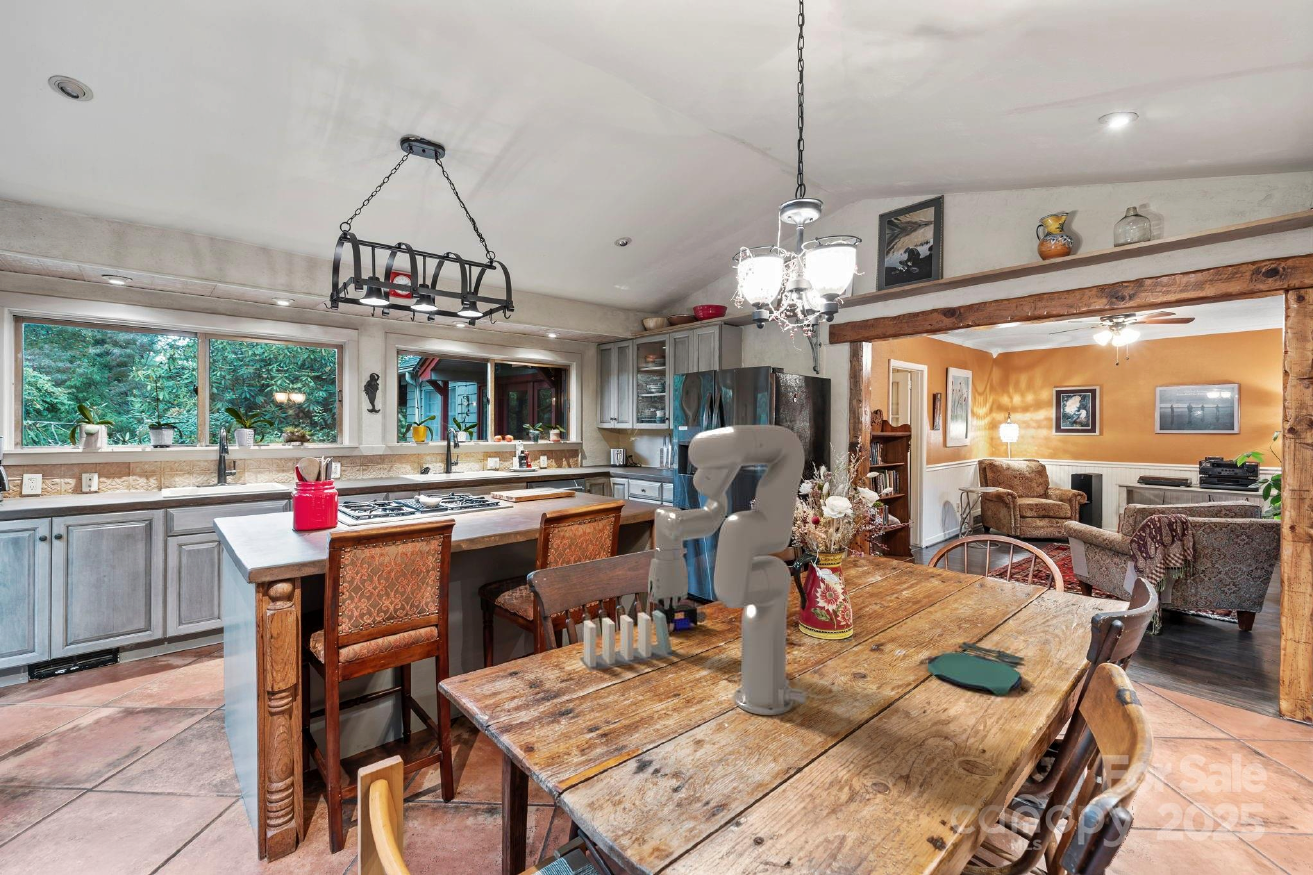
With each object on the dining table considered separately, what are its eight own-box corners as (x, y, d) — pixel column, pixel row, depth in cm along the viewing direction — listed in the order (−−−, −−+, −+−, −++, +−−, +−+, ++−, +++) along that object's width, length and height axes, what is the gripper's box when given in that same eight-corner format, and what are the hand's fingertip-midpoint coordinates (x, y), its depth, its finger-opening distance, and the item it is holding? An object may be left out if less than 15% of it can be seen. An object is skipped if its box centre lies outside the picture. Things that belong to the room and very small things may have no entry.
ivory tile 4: (589, 659, 148) (589, 620, 148) (596, 666, 144) (596, 626, 144) (583, 660, 148) (583, 621, 148) (590, 667, 143) (589, 627, 143)
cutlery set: (915, 678, 139) (915, 668, 139) (956, 644, 160) (956, 636, 160) (1009, 706, 125) (1009, 695, 125) (1041, 665, 147) (1041, 656, 147)
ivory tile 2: (626, 652, 153) (626, 614, 152) (633, 659, 148) (633, 620, 148) (620, 653, 152) (620, 615, 152) (627, 660, 147) (627, 621, 147)
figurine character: (691, 627, 178) (650, 631, 169) (694, 601, 178) (653, 604, 170) (705, 633, 172) (664, 638, 164) (708, 607, 173) (666, 610, 164)
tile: (663, 645, 157) (657, 610, 156) (671, 651, 153) (665, 615, 152) (658, 647, 156) (651, 611, 155) (666, 653, 152) (659, 617, 151)
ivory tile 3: (608, 655, 150) (608, 617, 150) (614, 662, 146) (614, 623, 146) (602, 656, 150) (602, 618, 150) (608, 664, 145) (608, 624, 145)
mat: (663, 644, 159) (663, 643, 159) (677, 656, 151) (677, 654, 151) (578, 659, 149) (578, 657, 149) (589, 672, 141) (589, 671, 141)
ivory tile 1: (643, 649, 155) (643, 612, 155) (651, 656, 150) (651, 617, 150) (637, 650, 154) (637, 613, 154) (645, 657, 150) (645, 618, 149)
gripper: (687, 548, 161) (687, 614, 161) (637, 553, 155) (637, 621, 155) (700, 554, 154) (700, 622, 155) (648, 559, 148) (648, 630, 148)
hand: (668, 622), depth 155 cm, fingers closed
